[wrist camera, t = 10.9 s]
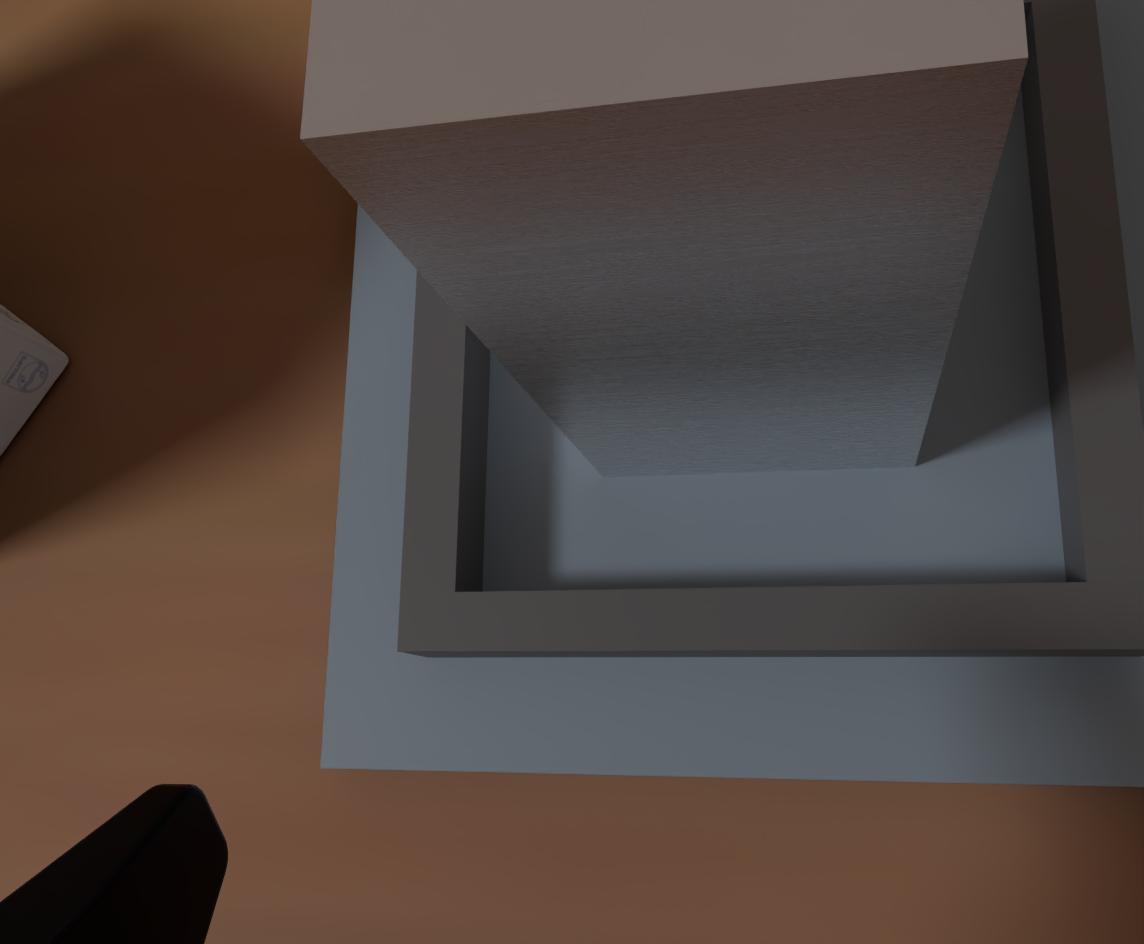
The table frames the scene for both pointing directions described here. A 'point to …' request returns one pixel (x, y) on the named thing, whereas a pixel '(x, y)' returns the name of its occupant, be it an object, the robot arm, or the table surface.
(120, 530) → the table surface
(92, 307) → the table surface
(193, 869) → the robot arm
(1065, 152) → the dock
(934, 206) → the block
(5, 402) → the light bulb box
